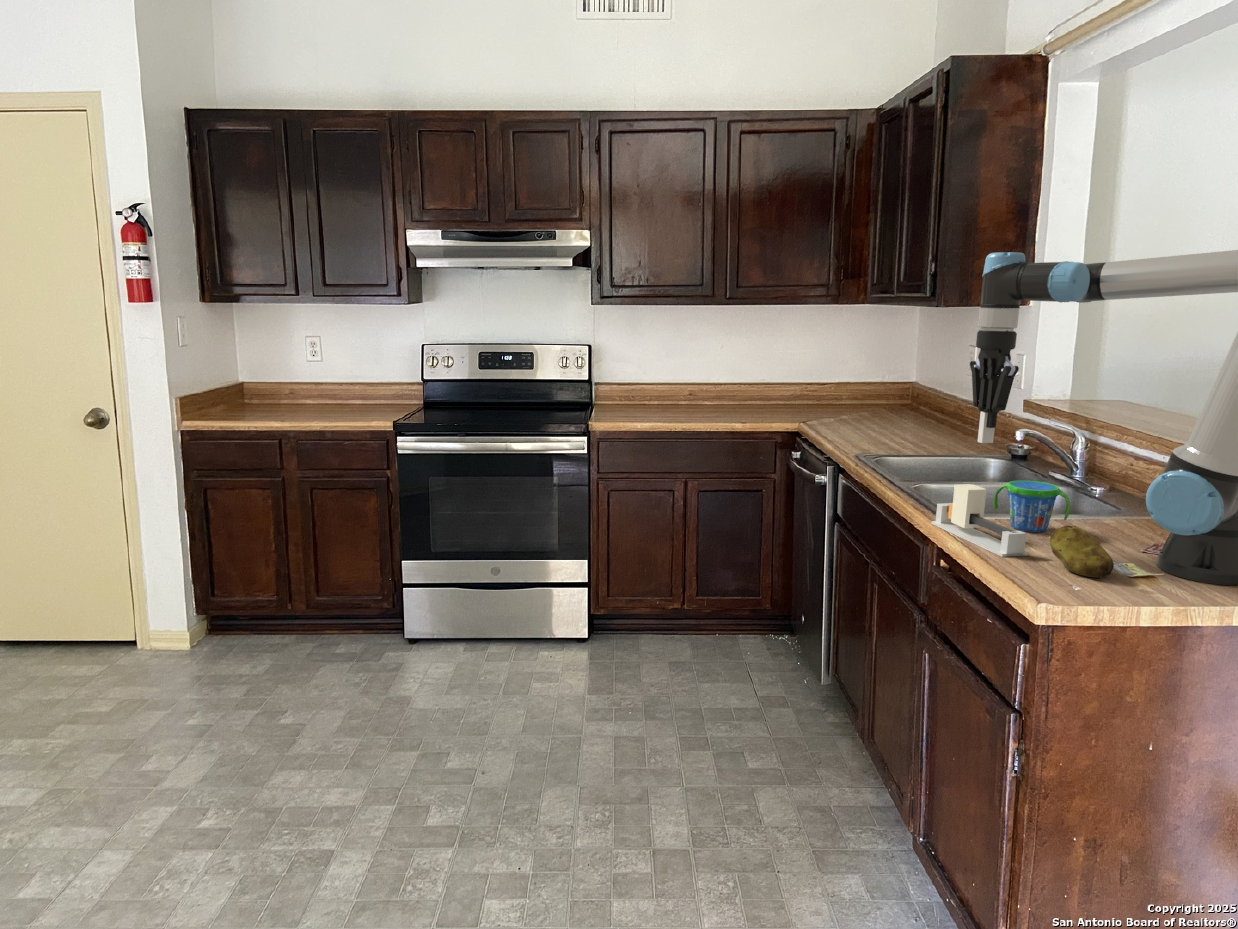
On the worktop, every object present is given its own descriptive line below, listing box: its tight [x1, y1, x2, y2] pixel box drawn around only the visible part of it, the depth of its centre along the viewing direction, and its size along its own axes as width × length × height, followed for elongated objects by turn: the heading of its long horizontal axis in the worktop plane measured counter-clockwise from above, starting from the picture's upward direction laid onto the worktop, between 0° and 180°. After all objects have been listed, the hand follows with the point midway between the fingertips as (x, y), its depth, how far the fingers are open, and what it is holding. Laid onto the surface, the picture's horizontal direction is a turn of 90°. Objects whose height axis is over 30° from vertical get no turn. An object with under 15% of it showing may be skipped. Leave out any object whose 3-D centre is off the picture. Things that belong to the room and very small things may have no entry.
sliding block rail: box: [931, 502, 1029, 558], centre depth 184 cm, size 25×6×6 cm, turn 13°
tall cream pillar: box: [951, 483, 987, 529], centre depth 187 cm, size 5×4×8 cm
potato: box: [1049, 525, 1115, 579], centre depth 164 cm, size 8×13×8 cm, turn 177°
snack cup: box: [993, 479, 1071, 533], centre depth 193 cm, size 16×10×10 cm
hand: (985, 442), depth 181 cm, fingers closed
